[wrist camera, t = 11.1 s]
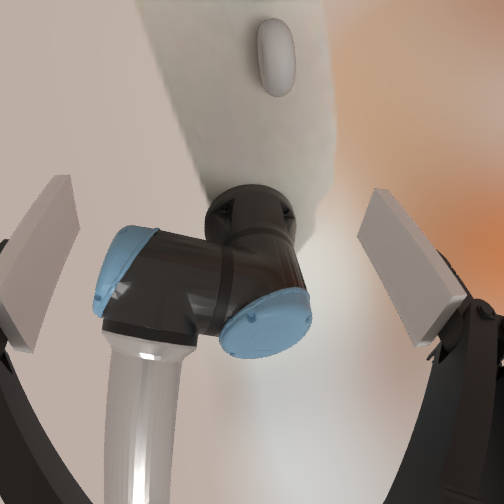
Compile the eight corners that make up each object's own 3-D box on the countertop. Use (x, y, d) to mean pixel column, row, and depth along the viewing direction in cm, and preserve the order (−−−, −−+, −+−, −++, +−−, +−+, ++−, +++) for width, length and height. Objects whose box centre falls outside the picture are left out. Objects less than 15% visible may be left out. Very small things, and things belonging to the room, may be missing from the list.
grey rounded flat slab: (252, 18, 33) (263, 19, 25) (279, 17, 33) (298, 18, 26) (257, 88, 40) (269, 108, 32) (283, 86, 40) (301, 106, 32)
